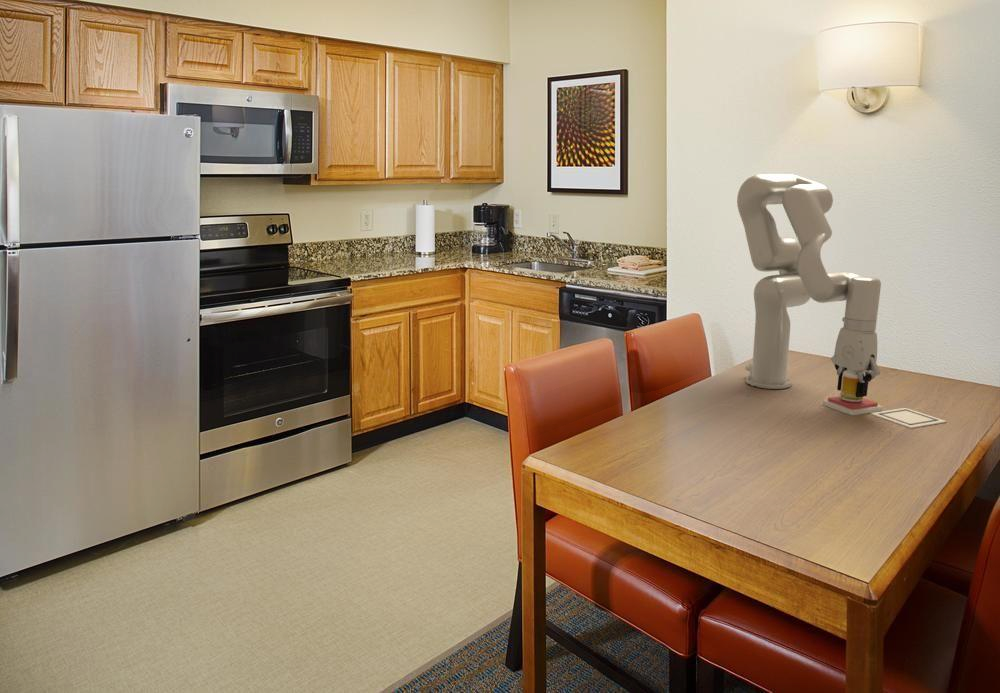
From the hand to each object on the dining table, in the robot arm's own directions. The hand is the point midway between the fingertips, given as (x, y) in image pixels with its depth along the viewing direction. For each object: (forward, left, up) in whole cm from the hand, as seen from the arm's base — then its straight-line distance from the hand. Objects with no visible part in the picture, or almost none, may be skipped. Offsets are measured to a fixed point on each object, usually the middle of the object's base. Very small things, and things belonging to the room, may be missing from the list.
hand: (851, 392), depth 201 cm
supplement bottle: (0, 0, -2) cm, 2 cm away
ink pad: (0, 0, -4) cm, 4 cm away
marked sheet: (+12, +6, -4) cm, 14 cm away
